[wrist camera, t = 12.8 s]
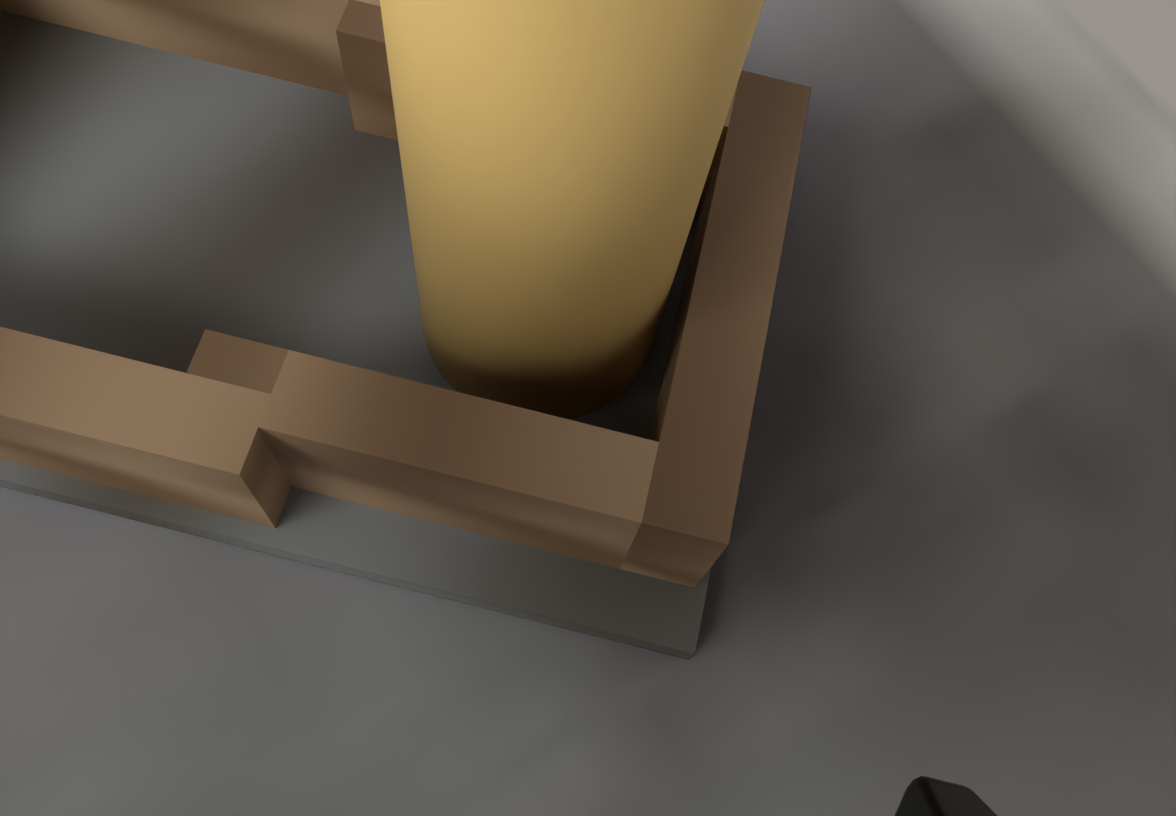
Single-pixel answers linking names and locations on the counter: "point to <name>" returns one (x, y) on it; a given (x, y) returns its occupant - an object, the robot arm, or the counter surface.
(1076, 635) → the counter surface
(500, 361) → the peg
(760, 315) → the frame
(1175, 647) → the counter surface
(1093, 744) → the counter surface
